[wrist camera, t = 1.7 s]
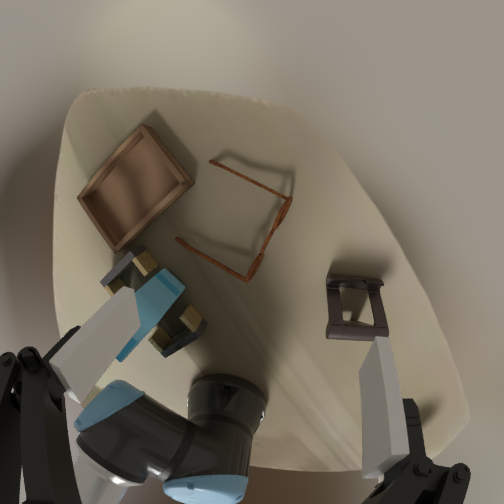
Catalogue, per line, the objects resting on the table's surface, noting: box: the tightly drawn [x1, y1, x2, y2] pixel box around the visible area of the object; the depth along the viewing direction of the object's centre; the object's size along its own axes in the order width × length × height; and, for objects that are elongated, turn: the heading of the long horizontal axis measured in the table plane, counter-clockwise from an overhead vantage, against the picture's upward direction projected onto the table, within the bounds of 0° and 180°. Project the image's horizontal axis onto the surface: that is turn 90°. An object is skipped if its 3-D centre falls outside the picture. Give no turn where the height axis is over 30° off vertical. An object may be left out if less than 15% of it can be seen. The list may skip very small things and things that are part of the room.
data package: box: [116, 268, 185, 362], centre depth 38 cm, size 12×4×12 cm, turn 137°
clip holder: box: [100, 245, 207, 358], centre depth 42 cm, size 9×16×4 cm, turn 38°
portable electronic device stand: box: [326, 274, 389, 341], centre depth 37 cm, size 9×8×8 cm
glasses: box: [175, 160, 293, 283], centre depth 37 cm, size 13×13×5 cm
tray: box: [77, 124, 195, 254], centre depth 38 cm, size 16×12×3 cm
